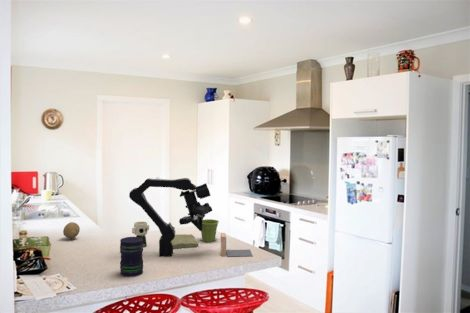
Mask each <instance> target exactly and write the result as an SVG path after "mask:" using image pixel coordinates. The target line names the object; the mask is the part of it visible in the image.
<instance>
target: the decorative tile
mask: <svg viewBox="0 0 470 313" xmlns="http://www.w3.org/2000/svg"><path fill="white" fill-rule="evenodd" d="M171 242H172V245H173V250H181V249H182V248H183V249H193V248H194V249H196V248H197V247H198V248H199V242H198V240H197V238H196V237H195V236H194V234H187V233H186V234H181V233H180V234H175V237H174V239H173V240H172V241H171ZM198 248H197V249H198Z"/></svg>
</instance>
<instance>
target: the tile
mask: <svg viewBox="0 0 470 313" xmlns="http://www.w3.org/2000/svg"><path fill="white" fill-rule="evenodd" d="M226 250H227V234H226V232H221V233H220V256H221V257H227V255H226Z"/></svg>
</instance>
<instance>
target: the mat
mask: <svg viewBox="0 0 470 313" xmlns="http://www.w3.org/2000/svg"><path fill="white" fill-rule="evenodd" d="M242 257H243V258H248V257H251V258H252V257H254V255H253V253H252V251H251V249H226V258H242Z"/></svg>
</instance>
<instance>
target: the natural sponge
mask: <svg viewBox="0 0 470 313" xmlns="http://www.w3.org/2000/svg"><path fill="white" fill-rule="evenodd" d="M80 230H81V228H80V226H79V224H77V223H76V222H74V221H73V222H71V221H70V222H69V223H67V224H66V225H65V226H64V227H63V230H62V233H63V236H64V237H66V238H67V239H69V240H74V239H75V238H76V237H77V236H78V235H79V233H80Z"/></svg>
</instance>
